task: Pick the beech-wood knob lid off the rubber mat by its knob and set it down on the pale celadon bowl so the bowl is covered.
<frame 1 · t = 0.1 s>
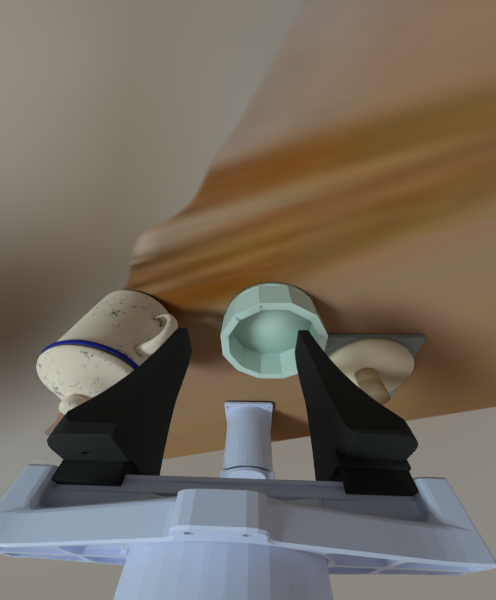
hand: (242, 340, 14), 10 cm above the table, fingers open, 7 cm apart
lid: (362, 369, 30), point 1 cm above the table, touching mat
teacup with lid: (148, 313, 26), on the table
bowl: (270, 321, 26), on the table
mat: (361, 365, 30), on the table
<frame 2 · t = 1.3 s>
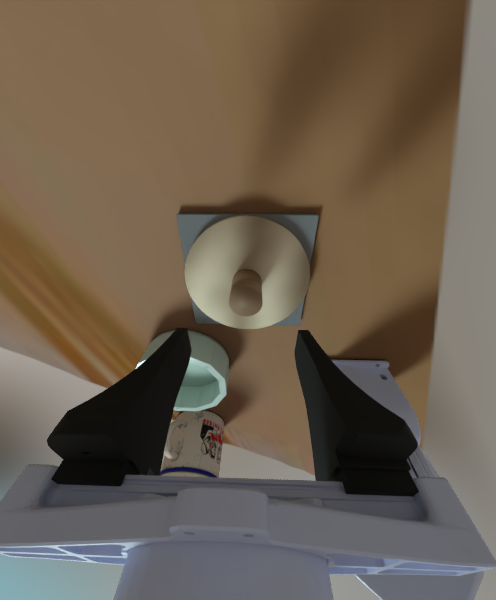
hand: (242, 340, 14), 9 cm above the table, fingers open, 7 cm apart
lid: (247, 278, 21), point 1 cm above the table, touching mat
teacup with lid: (196, 416, 38), on the table
bowl: (189, 360, 29), on the table
mat: (247, 275, 22), on the table
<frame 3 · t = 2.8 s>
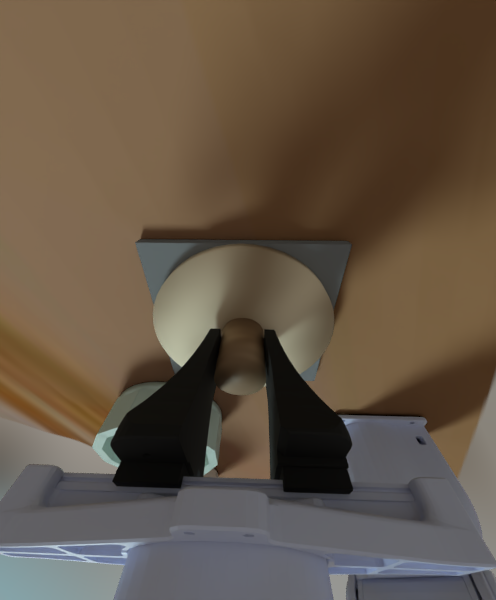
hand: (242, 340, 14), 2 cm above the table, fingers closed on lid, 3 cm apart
lid: (243, 326, 15), point 1 cm above the table, touching gripper, mat
bowl: (171, 413, 23), on the table
mat: (243, 320, 16), on the table
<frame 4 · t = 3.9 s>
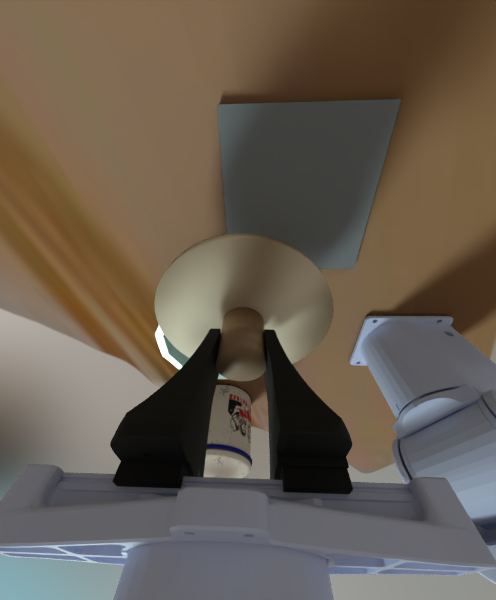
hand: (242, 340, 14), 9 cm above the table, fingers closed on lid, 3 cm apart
lid: (243, 315, 15), point 7 cm above the table, touching gripper
teacup with lid: (220, 393, 34), on the table
bowl: (216, 320, 25), on the table
mat: (296, 200, 18), on the table
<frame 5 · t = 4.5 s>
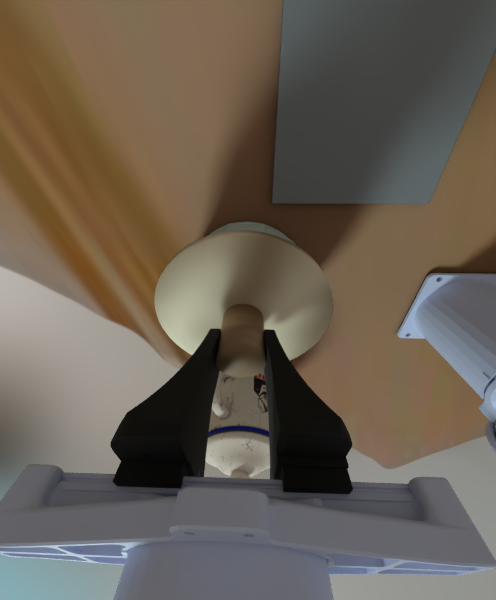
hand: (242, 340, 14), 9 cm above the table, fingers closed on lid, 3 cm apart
lid: (243, 311, 15), point 6 cm above the table, tilted 5°, touching gripper
teacup with lid: (240, 373, 30), on the table
bowl: (247, 278, 21), on the table
mat: (370, 100, 14), on the table
when the fingers open (6 cm above the table, at t = 5.1 s): lid stays where it is, resting on bowl.
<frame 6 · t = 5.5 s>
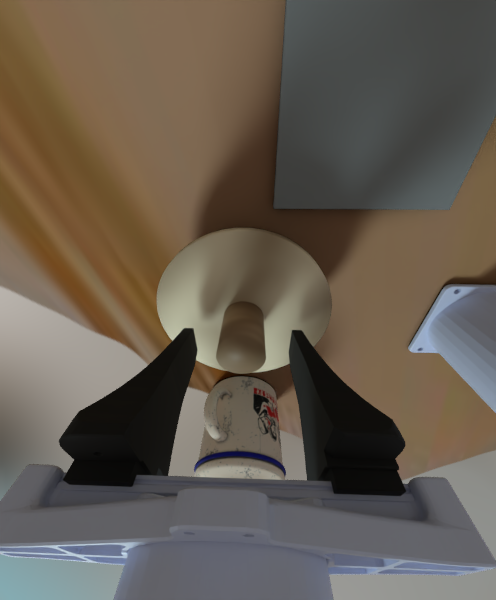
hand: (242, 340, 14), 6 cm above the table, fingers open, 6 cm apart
lid: (244, 311, 16), point 4 cm above the table, touching bowl
teacup with lid: (239, 387, 28), on the table
mat: (387, 92, 12), on the table
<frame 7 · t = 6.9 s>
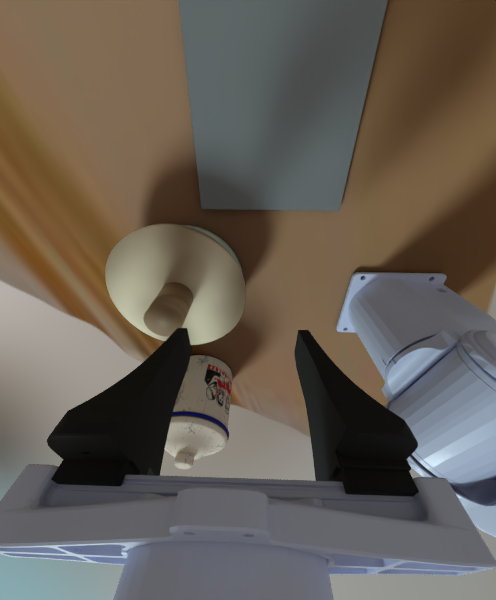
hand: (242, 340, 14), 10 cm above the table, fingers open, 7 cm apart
lid: (180, 291, 19), point 4 cm above the table, touching bowl
teacup with lid: (199, 366, 32), on the table
mat: (274, 121, 16), on the table
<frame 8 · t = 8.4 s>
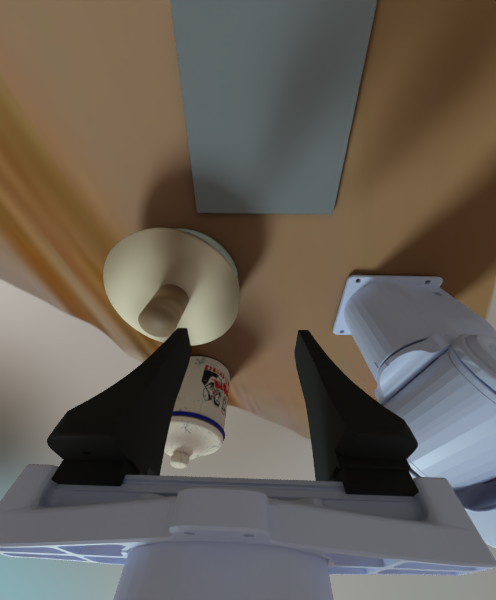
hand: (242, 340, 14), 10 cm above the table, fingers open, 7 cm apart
lid: (175, 293, 20), point 4 cm above the table, touching bowl
teacup with lid: (197, 367, 32), on the table
bowl: (188, 279, 23), on the table
mat: (267, 127, 16), on the table
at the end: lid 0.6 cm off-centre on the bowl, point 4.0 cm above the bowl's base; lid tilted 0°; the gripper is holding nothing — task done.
